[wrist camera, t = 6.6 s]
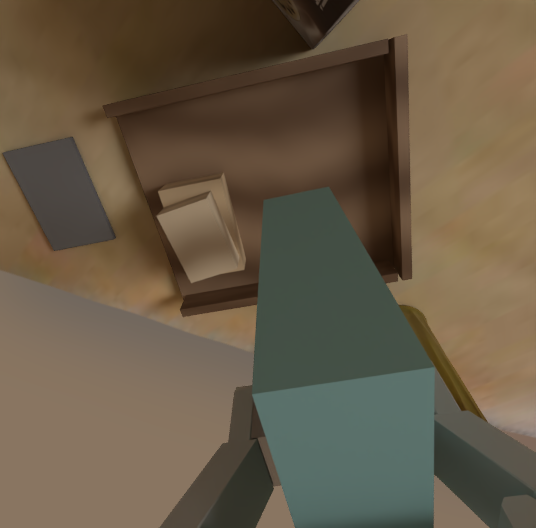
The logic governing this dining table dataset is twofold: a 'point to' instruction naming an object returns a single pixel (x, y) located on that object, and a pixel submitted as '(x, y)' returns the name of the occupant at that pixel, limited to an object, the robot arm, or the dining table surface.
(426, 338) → the vase
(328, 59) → the brown wooden tray
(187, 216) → the offcut top
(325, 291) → the teal rectangular block
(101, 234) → the mat
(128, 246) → the dining table surface
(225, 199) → the offcut low
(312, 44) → the coffee box
